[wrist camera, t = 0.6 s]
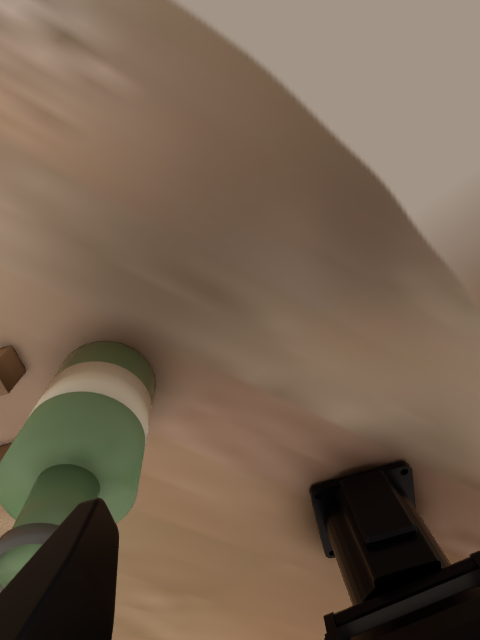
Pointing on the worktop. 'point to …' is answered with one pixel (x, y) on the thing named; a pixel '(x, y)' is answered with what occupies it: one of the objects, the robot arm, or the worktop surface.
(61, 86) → the worktop surface
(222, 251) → the worktop surface
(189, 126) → the worktop surface
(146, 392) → the bottle
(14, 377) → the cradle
